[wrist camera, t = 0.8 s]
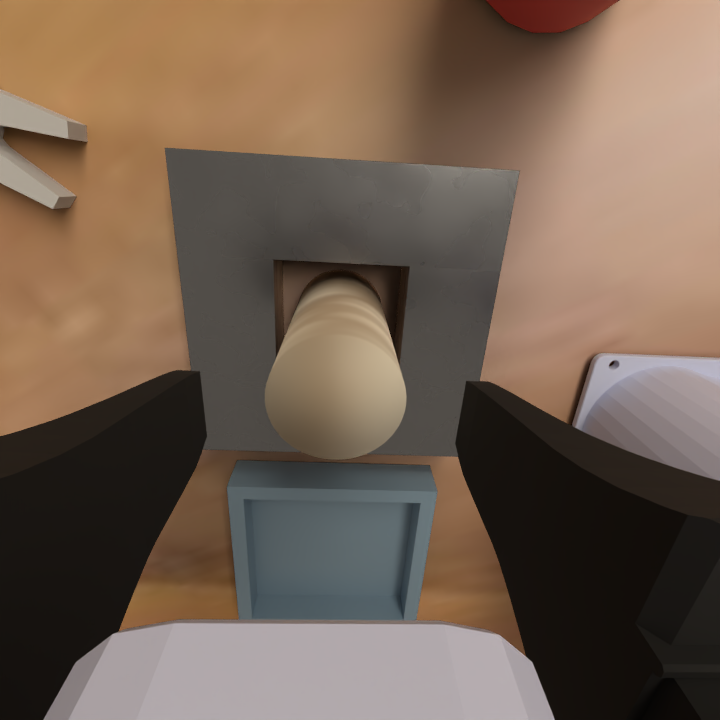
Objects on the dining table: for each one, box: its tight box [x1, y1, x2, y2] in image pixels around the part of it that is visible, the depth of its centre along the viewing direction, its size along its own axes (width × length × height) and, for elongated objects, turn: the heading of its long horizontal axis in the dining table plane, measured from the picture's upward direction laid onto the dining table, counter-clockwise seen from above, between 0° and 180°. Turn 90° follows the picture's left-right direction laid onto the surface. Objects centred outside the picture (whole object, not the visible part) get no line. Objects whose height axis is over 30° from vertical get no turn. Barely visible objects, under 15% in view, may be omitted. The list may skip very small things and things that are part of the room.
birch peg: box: [265, 270, 406, 460], centre depth 16 cm, size 4×4×9 cm
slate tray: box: [227, 460, 437, 620], centre depth 24 cm, size 11×11×2 cm
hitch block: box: [165, 148, 520, 457], centre depth 19 cm, size 13×13×2 cm
